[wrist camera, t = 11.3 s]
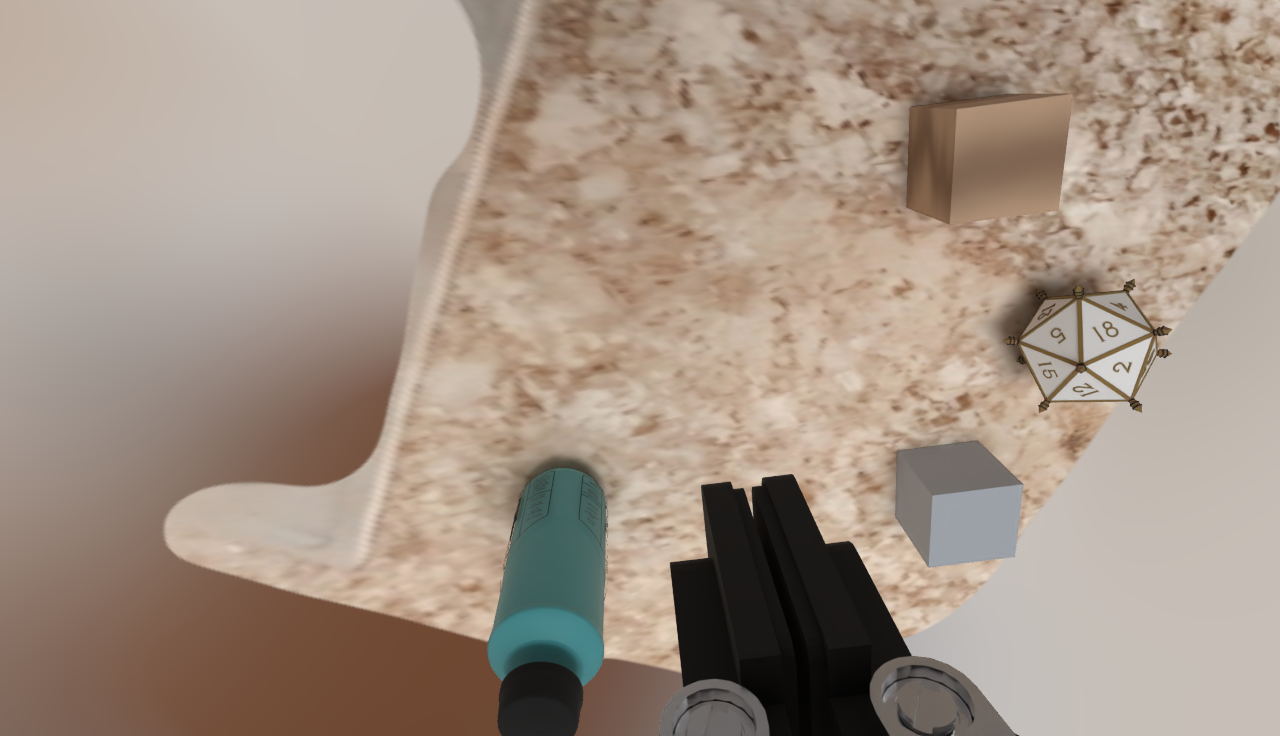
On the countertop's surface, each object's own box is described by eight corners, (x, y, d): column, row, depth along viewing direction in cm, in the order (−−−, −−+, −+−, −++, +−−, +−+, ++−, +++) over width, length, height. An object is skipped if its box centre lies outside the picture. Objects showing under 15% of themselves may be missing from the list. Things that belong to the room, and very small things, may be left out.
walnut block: (909, 107, 39) (956, 109, 34) (1009, 93, 39) (1072, 93, 34) (905, 207, 42) (949, 224, 36) (999, 194, 42) (1058, 210, 36)
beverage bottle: (514, 458, 48) (449, 687, 29) (604, 448, 48) (595, 671, 29) (530, 531, 50) (479, 783, 32) (615, 521, 50) (613, 769, 32)
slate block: (896, 450, 49) (932, 495, 43) (977, 439, 49) (1023, 484, 43) (894, 516, 51) (928, 567, 45) (971, 506, 51) (1014, 556, 45)
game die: (1027, 284, 48) (1178, 235, 38) (1079, 387, 48) (1243, 363, 39) (949, 332, 44) (1094, 291, 35) (1005, 444, 44) (1165, 432, 35)
